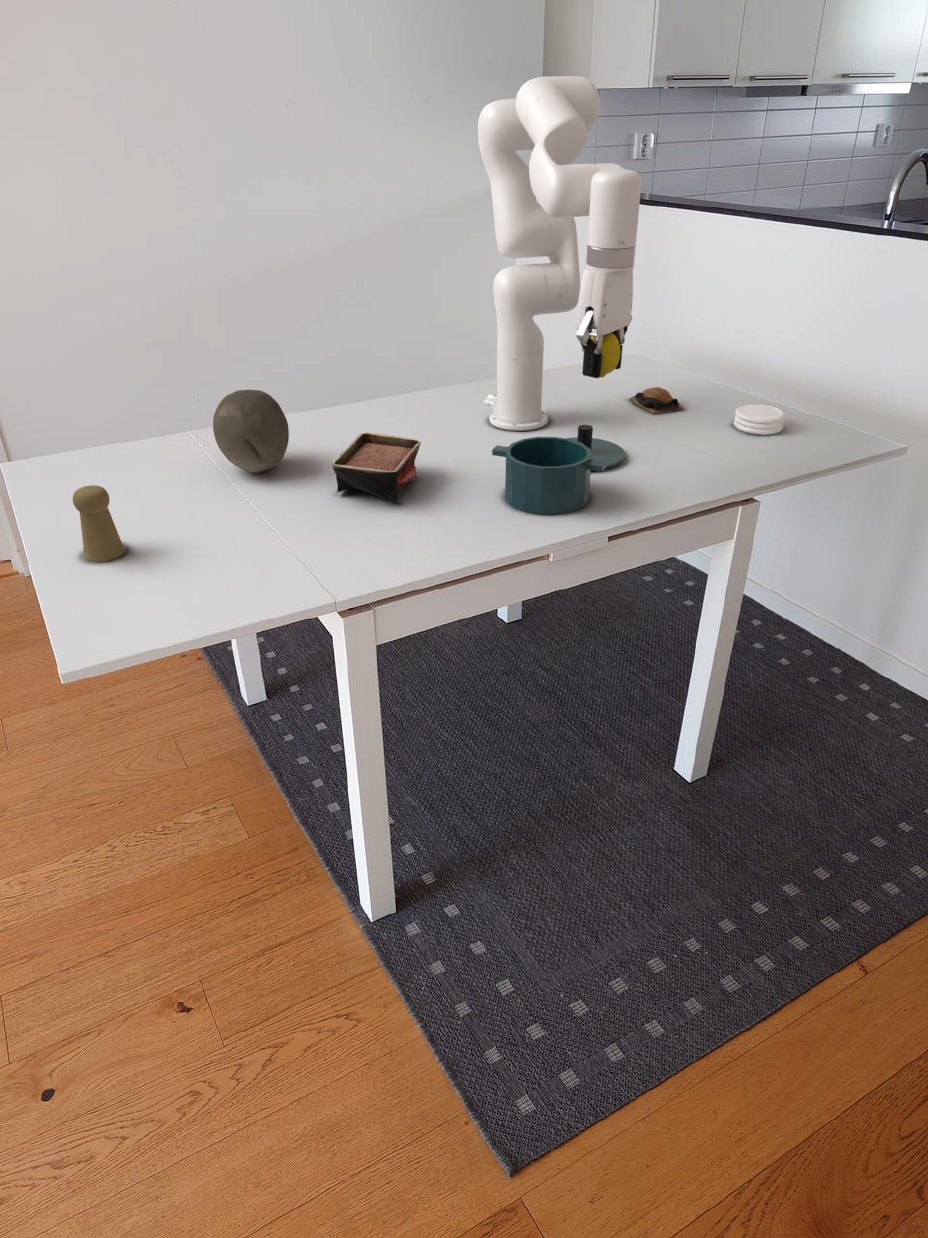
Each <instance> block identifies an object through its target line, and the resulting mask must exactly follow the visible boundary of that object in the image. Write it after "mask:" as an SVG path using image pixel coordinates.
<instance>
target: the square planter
mask: <svg viewBox="0 0 928 1238" xmlns="http://www.w3.org/2000/svg"><path fill="white" fill-rule="evenodd" d="M421 444H422V442H421V441H420V440H419V439H416V438H411V437H406V436H401V435H400V436H399V435H392V434H385V433H376V432H360V434H358V435H357V436H356V437H355V439H354V440H353V441H352V442H351V443H350V444H349V445H348V446H347V447H346V448H345V449H344V450H343V451H342V452H341V453H340V454H339V456H338V457H336V458H335V459H334V460H333V461H332V469H333V471H334V475H335V478H336V479H335V480H336V484H337V489H336V490H337V491H336V494H337V493H341V492H344V491H348V490H352V489H357V490H359V491H362V492H365V493H368V494H371V495H374V496H376V497H379V498H380V499H381V498H382V499H383V500H387V501H389V502H392V503H394V504H397V505H398V500H399V498H400V495H401V493H402V492H403V491H404V489H405V487H406V485H407V484H408V483H409V482H410V481H413V480H415V479H418V474H417V471H418V470H417V467H416V463H415V461H416V459H417V455H418V452H419V450H420V446H421Z"/></svg>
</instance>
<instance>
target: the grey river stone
mask: <svg viewBox="0 0 928 1238" xmlns="http://www.w3.org/2000/svg"><path fill="white" fill-rule="evenodd" d="M212 430H213V436H214V440H215V442H216V445H217V447H218V449H219V451H220V452H221V453H222V455H223V456H224V457H225V459H227V461H229V462H230V463H231V464H232V465H233V466H235V467H236V468H239V469H241V470H243V471H245V472H247V473H248V472H249V473H253V474H261V473H265V472H268V471H271V470H273V469H275V468H277V467H278V466H279V464H280V463H281V462H282V460H283V459H284V457H285V454H286V452H287V449H288V445H289V440H290V430H289V423H288V420H287V417H286V415H285V413H284V411H283V409H282V407H281V406H280V404H279V403H278V401H276V399H275V398H274V397H273V396H272V395H270V394H269V393H267V392H265V391H262V390H258V389H239V390H235V391H233V392H231V393H229V394H227V395H226V396H224V397H223V398H222V399H221V400H220V402H219V403H218V405H217V407H216V409H215V411H214V413H213V420H212Z"/></svg>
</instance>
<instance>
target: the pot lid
mask: <svg viewBox="0 0 928 1238" xmlns="http://www.w3.org/2000/svg"><path fill="white" fill-rule="evenodd" d="M593 430H594V426H593V425H590V424H580V425H578V426H577V437H566V438H565V439H571V440H574V441H577V442H580V443H583V444H584V445H585V446H587V447H588V448H590V450H591V454H592V459H591V460H598V461H604V462H606V468H605V469H608V468H612V467H614V466H617V465H619V464H620V463H622V462H623V461H624V459H625V457H626V452H625V449H623V447H621V446H620V445H619V444H617V443H615V442H612V441H610V440H606V439H602V438H596V437H593V432H594V431H593Z"/></svg>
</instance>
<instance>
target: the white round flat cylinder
mask: <svg viewBox="0 0 928 1238" xmlns="http://www.w3.org/2000/svg"><path fill="white" fill-rule="evenodd" d="M734 414H735V415H734V418H733V419H734V420H733V426H734V427H735V428H736V429H737V430H739V432H743V433H746V434H751V435H759V436H768V435H769V436H770V435H775V434H778V433H780V432H781V431H782V430H783V428H784V423H785V418H786V413H785V412H784V411H783V410H781V409H780V408H778V407H775V406H772V405H768V404H767V405H766V404H759V403H753V404H743V405H740V406H738V407H737V408H736V409H735V411H734Z"/></svg>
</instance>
